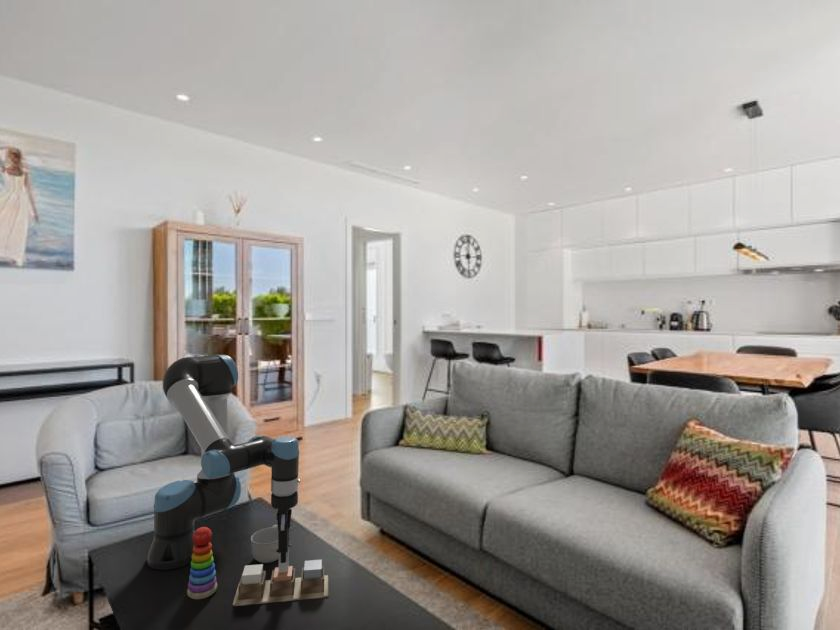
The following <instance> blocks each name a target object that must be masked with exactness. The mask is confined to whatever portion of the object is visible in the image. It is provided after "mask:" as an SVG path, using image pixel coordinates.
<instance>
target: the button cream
mask: <svg viewBox="0 0 840 630" xmlns="http://www.w3.org/2000/svg"><path fill="white" fill-rule="evenodd" d="M263 571H264V563H260V564H250V565H244V568H243V572H242V573H243V575H242V574H241V576H242V585H247V584H258V583H262V579H263Z"/></svg>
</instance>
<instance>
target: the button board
mask: <svg viewBox="0 0 840 630" xmlns="http://www.w3.org/2000/svg"><path fill="white" fill-rule="evenodd" d="M274 571H275V569H272V571H271V577H270V579H268V580H267V579H266V578H267V571H266V570H263V579H262V583H258V584H247V585H242V575H243V572H242V573H241V577H240V580H239V583H238V586H237V588H236V592H235V595H234V598H233V602H232V607H238V606H250V605H259V604H260V605H261V604H270V603H280V602H288V601H289V602H292V601H302V600H313V599H320V598H321V599H322V598H323V599H324V598H329V575H328V574H327V575H326V574H325V565H322V577H321V578H315V579H304V567H301V577H296V567H295V568H294V567H293V574H292V581H281V582H273V577H274Z"/></svg>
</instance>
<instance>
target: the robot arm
mask: <svg viewBox="0 0 840 630" xmlns="http://www.w3.org/2000/svg"><path fill="white" fill-rule="evenodd" d="M238 380H239V371H238V367H237V364H236V363H235V361H234V359H233V358H232V357H230V355H227V354H211V355H199V356H188V357H186V356H185V357H182V358H179V359H176V361H174V362H173V363H171V364H170V365H169V367H168V368H167V369H166V371H165V372H164V375H163V380H162V389H163V393H164V395H165V397H166V399H167V400H168V401H169V402H170V403H173V404H174V405H175V407H176V409H177V410H178V412H179V414H180V415H181V417H182V419H183V420H184V422H185V423H186V425H187V427H188V428H189V431H190V432H191V434H192V436H193V437H194V438H195V440H196V442H197V444H198V446H199V447H200V451H201V453H200V454H201V456H200V457H201V459H200V466H201V470H199V472H198V473H197V474H196V482H194V481H193V480H190V479H183V480H175V481H173V482H170V483H167V484H166V485H163V486H162V487H160V488H159V489H158V491H157V492H156V493H155V495H154V504H153V518H154V519H153V539H152V542H151V545H150V547H149V551H148V552H147V553H148V554H147V565H148V566H149V568H151V569H154V570H158V571H159V570H161V571H167V570H174V569H178V568H181V567H184V566H186V565H189V564H191V561H192V554H193V553H194V552H193V547H194V546H195V545H196V544H195V543H194V542H193V534H194V532H195V531H196V530H195V521H197V520H199V519H202V518H205V517H208V516H211V515H214V514H217V513H220V512H224V511H226V510H228V509H230V508H233V507H234V506H235V505H236V504H237V503H238V501H239V499H240V497H241V492H242V484H241V481H240V477H239V475H238V474H237V473H239V472H241V471H245V470H249V469H253V468H256V467H260V466H266V467H268V468H271V477H270V492H271V493H270V505H271V507H272V508H273V509H275V510H277V513H276V521H277V525H278V549H277V550H276V552H278V553H279V558H278V566H277V567H278V573H283V572H288V566H289V564H290V561H289V557H290V556H289V553H290V551H289V550H290V547H292V543H291V542H289V541H290V526H291V520H292V511H293V508H295V507H296V506H297V505H298V502H299V492H298V489H299V483H301V478H299V466H300V465H299V461H300V458H299V457H300V449H299V440H298V439H297V437H295V436H288V435H283V436H282V435H281V436H278V437H276V438H274V439H273V438H271V437H269V436H266V435H259V434H258V435H254V436H253V437H252V438H250V439H249V440H248V441H246V442H242V443H238V444H233V443H232V441H231V439H230V438H229V430H228V427H229V426H228V423H229V422H228V398H229V396H230V395H231V394H232V388H233V387H235V386H236V385H237V383H238Z"/></svg>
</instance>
